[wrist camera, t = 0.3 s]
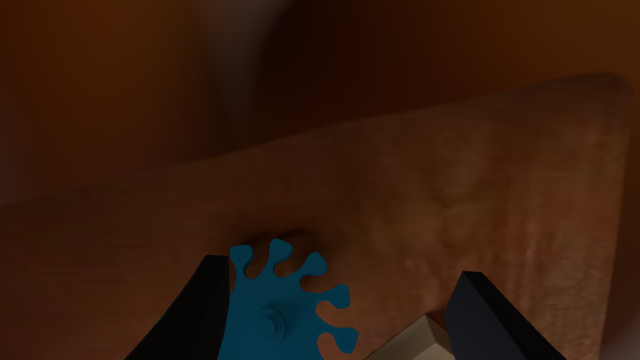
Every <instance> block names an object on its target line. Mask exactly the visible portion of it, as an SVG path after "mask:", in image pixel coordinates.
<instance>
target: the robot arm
mask: <svg viewBox="0 0 640 360" xmlns="http://www.w3.org/2000/svg"><path fill="white" fill-rule="evenodd" d="M229 303H230V293H229V256H220V255H207V256H205V257H204V258H203V260H202V262H201V263H200V265H199V266H198V268H197V270H196V271H195V273H194V274H193V276H192V277H191V279H190V280H189V281H188V283H187V284H186V286H185V287H184V288H183V290H182V291H181V293H180V294H179V295H178V297H177V298H176V299H175V300H174V302H173V303H172V304H171V306H170V307H169V308H168V310H167V311H166V312H165V313H164V315H163V316H162V317H161V318H160V320H159V321H158V322H157V323H156V324H155V325H154V327H153V328H152V329H151V330H150V331H149V332H148V334H147V335H146V336H145V337H144V338H143V340H142V341H141V342H140V343H139V344H138V345H137V346H136V347H135V348H134V350H133V351H132V352H131V353H130V354H129V355H128V356H127V357H126V358H125V359H124V360H217V359H218V355H219V352H220V348H221V344H222V341H223V337H224V332H225V327H226V321H227V315H228V309H229ZM444 318H445V323H446V328H447V333H448V337H449V341H450V346H451V349H452V352H453V355H454V358H455V360H567V359H566V358H565V357H564V356H563V355H562V354H561V353H559V352H558V351H557V350H556V349H555V348H554V347H553V346H552V345H551V344H550V343H549V342H548V341H547V340H546V339H545V338H544V337H543V336H542V335H541V334H540V333H539V332H538V331H537V330H536V329H535V328H534V327H533V326H532V325H531V324H530V323H529V322H528V321H527V320H526V319H525V318H524V317H523V316H522V315H521V313H520V312H519V311H518V310H517V309H516V308H515V307H514V306H513V305H512V304H511V303H510V302H509V301H508V300H507V299H506V298H505V296H504V295H503V294H502V293H501V292H500V291H499V290H498V289H497V288H496V287H495V286H494V285H493V284H492V283H491V282H490V280H489V279H488V278H487V277H486V276H485V275H484V274H483V273H482V272H471V271H462V273H461V275H460V278H459V280H458V282H457V284H456V287H455V289H454V291H453V293H452V296H451V298H450V300H449V303H448V305H447V307H446V309H445V312H444Z"/></svg>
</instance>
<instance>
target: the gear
mask: <svg viewBox="0 0 640 360" xmlns="http://www.w3.org/2000/svg"><path fill="white" fill-rule="evenodd" d="M292 251H293V248H292V246H291V245H290V244H289V243H287V242H285V241H283V240H280V239H277V238H275V239H273V240H272V242H271V244H270V255H269V260H268V263H267V265H266V267H265V268H264V270H263V271H262V272H261V273H260V275H259V276H258V277H257V278H255V279H248V278H247V277H246V273H245V272H246V268H247V267H248V266H249V264H250V263H251V262H252V260H253V258H254V250H253V248H252V247H251V246H249V245H239V246H235V247H231V250H230V257H231V259H232V261H233V263H234V265H235V268H236V283H235V287H234V290H233V292H232V293H231V294H230V303H229V309H228V315H227V321H226V327H225V332H224V337H223V341H222V344H221V348H220V352H219V355H218V359H217V360H324V359H323V358H322V356H321V354H320V351H319V349H318V346H317V339H318V337H319V335H321V334H322V333H325V332H327V333H330V334H332V335H333V337H334V339H335V341H336V344H337V346H338V348H339V349H340V350H341V351H342V352H344V353H347V354H351V353H352V351H353V350H354V348H355V346H356V343H357V339H358V335H359V333H358V332H357V331H356V330H355V329H353V328H348V327H347V328H337V327H333V326H331V325H329V324H327V323H326V322H324V321H323V320H322V319H321V318H319V317H318V316H317V314H316V311H315V308H316V305H317V304H318V303H319V302H320V301H323V300H324V301H328V302H330V303H331V304H332V305H333V306H335V307H336V308H339V309H344V308H347V307H348V306H350V293H349V289H348V286H347V285H345V284H339V285H337V286H335V287H334V288H333V289H331V290H329V291H326V292H322V293H311V292H305V291H303V290H302V289H301V288H300V280H301V279H302V278H303V277H304V276H306V275H312V276H321V275H323V274H324V273H325V272H326V271H327V268H328V267H327V264H326V262H325V260H324V259H323V258H322V256H321V255H320V254H319V253H318V252H313V253H311V254H310V255H309V256H308V257H307V259H306V261H305V263H304V264H303V266H302V267H301V268H300V269H299V270H298V271H296V272H295V273H293V274H291V275H289V276H286V277H283V278H280V277H277V276H276V275H275V273H274V269H275V266H276V265H277V264H278V263H280V262H282V261H285V260H287V259H288V258H289V257H290V256H291V254H292ZM161 317H162V316H161ZM161 317H160V318H161ZM160 318H159V319H158V320H157V322H158V321H159V320H160ZM157 322H156V323H157Z"/></svg>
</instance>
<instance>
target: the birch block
mask: <svg viewBox="0 0 640 360" xmlns="http://www.w3.org/2000/svg"><path fill="white" fill-rule="evenodd" d="M365 360H455V358H454V355H453V352H452V349H451V346H450V341H449V337H448V333H447V331H445V330H444V329H443V328H442V327H440V326H439V325H438V324H437V323H435V322H434V321H433V320H432V319H430V318H429V317H428V316H427V315H423V316H422V317H421V318H419V319H418V320H417V321H415V322H414V323H413V324H411V325H410V326H409V327H407V328H406V329H405V330H403V331H402V332H401V333H400V334H398V335H397V336H396V337H394V338H393V339H392V340H390V341H389V342H388V343H386V344H385V345H384V346H382V347H381V348H380V349H378V350H377V351H376V352H374V353H373V354H372V355H370V356H369V357H368V358H366V359H365Z"/></svg>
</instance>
